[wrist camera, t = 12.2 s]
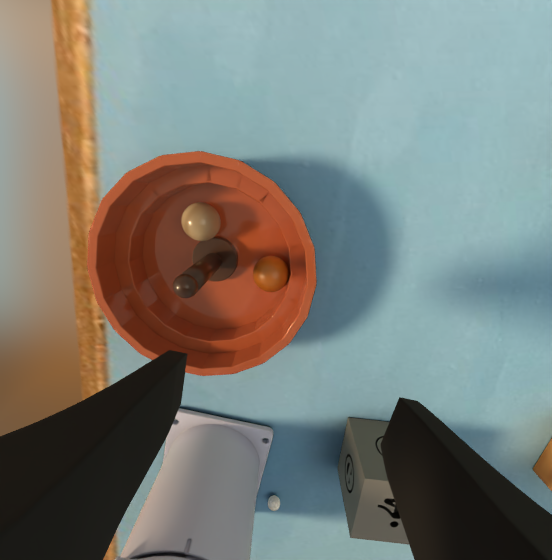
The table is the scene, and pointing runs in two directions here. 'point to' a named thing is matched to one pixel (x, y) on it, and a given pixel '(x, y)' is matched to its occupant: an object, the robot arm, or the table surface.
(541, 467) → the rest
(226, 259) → the brown peg
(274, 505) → the sphere
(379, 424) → the dice cube
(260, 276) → the amber bead
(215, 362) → the bowl
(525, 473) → the table surface
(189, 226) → the cream bead
